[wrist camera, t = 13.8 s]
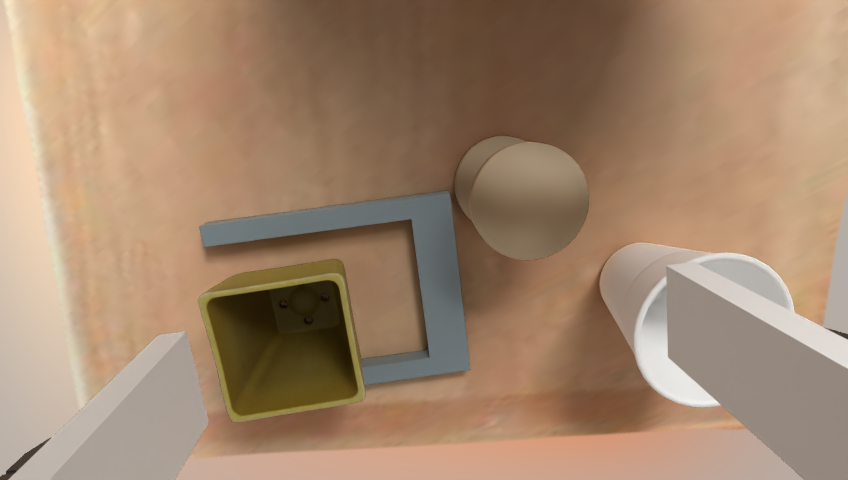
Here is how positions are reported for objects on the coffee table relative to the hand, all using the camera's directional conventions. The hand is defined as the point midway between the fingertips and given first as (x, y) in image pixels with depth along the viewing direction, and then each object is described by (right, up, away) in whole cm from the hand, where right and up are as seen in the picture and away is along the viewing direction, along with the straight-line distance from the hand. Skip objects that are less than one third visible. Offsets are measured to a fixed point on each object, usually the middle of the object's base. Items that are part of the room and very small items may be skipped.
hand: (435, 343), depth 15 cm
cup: (+16, 0, +29) cm, 33 cm away
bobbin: (+5, +7, +26) cm, 28 cm away
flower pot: (-9, -2, +27) cm, 29 cm away
